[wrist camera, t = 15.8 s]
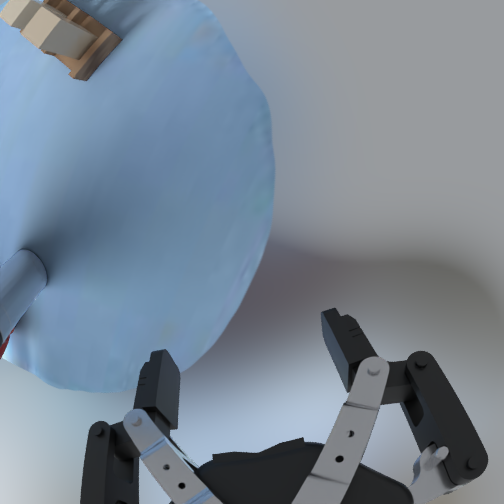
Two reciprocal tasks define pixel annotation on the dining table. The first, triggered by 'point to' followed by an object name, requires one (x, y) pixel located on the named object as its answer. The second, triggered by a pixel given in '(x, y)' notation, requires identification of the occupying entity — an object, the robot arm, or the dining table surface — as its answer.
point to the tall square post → (23, 12)
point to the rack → (96, 52)
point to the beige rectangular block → (58, 34)
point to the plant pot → (5, 344)
